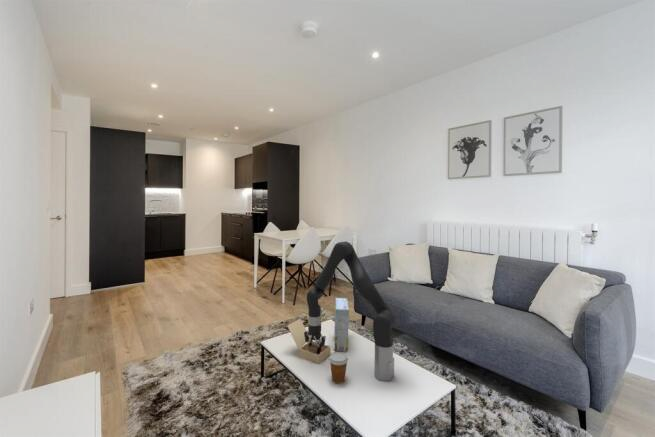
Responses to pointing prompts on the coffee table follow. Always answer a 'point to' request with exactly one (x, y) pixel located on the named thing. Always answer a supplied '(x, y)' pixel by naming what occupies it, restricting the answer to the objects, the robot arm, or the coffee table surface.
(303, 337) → the mailer lid
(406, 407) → the coffee table surface
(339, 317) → the snack box
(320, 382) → the coffee table surface
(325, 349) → the base
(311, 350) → the walnut block
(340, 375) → the disposable coffee cup
